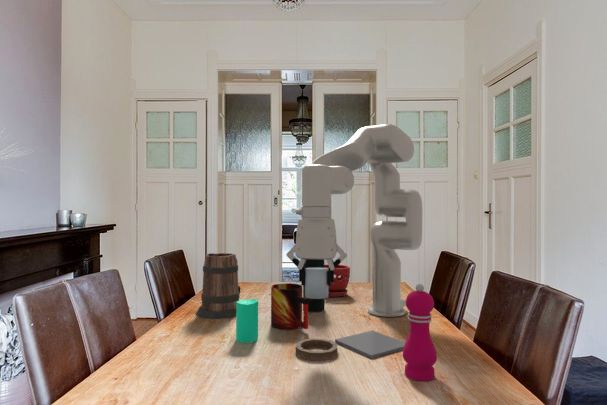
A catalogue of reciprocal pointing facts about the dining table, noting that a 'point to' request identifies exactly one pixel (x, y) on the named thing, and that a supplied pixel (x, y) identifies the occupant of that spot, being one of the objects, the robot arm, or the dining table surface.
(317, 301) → the wine bottle
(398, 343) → the tile
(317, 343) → the stand
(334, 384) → the dining table surface
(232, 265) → the tankard
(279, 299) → the mug
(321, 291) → the jug
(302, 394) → the dining table surface
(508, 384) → the dining table surface
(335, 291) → the plant pot
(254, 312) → the candle
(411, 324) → the pepper mill
